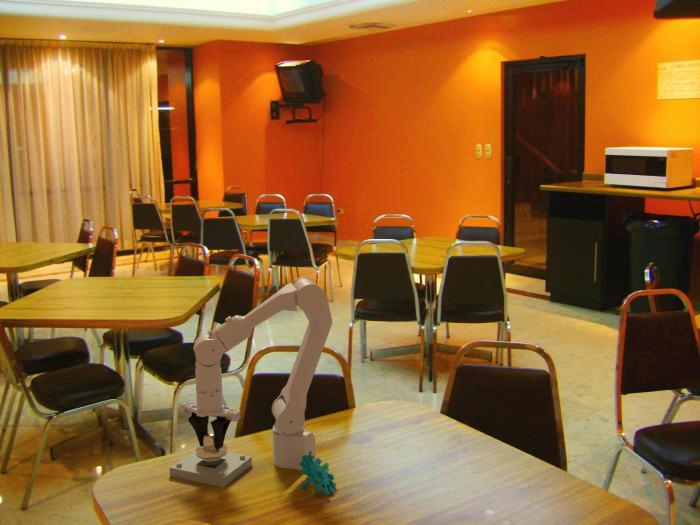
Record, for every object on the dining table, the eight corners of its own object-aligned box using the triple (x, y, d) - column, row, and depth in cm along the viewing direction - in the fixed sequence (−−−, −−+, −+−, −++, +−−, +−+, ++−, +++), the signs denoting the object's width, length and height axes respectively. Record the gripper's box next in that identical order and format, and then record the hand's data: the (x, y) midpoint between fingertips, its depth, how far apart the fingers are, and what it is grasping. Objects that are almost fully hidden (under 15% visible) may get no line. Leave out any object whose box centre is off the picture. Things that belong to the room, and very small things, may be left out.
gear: (327, 497, 158) (297, 459, 160) (307, 514, 160) (278, 475, 162) (345, 481, 168) (317, 446, 171) (327, 497, 170) (299, 461, 172)
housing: (252, 468, 175) (251, 454, 175) (223, 491, 164) (223, 476, 164) (201, 458, 181) (200, 444, 180) (170, 480, 170) (169, 465, 169)
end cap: (233, 457, 174) (232, 430, 173) (216, 470, 168) (215, 442, 167) (207, 452, 177) (206, 426, 176) (190, 464, 170) (188, 437, 169)
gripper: (171, 390, 168) (174, 447, 171) (227, 399, 163) (229, 458, 165) (190, 380, 175) (192, 436, 177) (244, 388, 169) (246, 446, 172)
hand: (211, 446), depth 172 cm, fingers closed on end cap, 4 cm apart
